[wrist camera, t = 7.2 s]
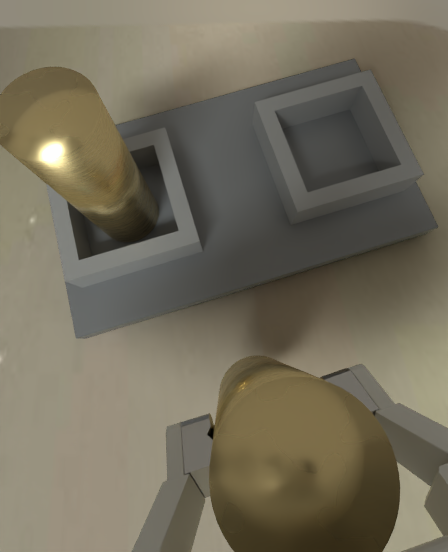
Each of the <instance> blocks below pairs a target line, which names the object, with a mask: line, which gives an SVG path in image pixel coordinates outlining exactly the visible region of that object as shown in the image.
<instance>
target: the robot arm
mask: <svg viewBox="0 0 448 552" xmlns="http://www.w3.org/2000/svg"><path fill="white" fill-rule="evenodd" d="M320 379H323V380H325V381H327V382H330V383H332V384H334V385H336V386H339V387H341V388H343V389H344V390H346V391H347V392H349V393H351V394H352V395H353V396H355V397H356V398H357V399H358V400H360V401H361V402H362V403H363V404H364V405H365V406H366V407H367V408H368V409H369V410H370V411H371V412H372V414H373V415H374V416H375V418H376V419H377V420H378V422H379V423H380V425H381V426H382V428H383V430H384V431H385V433H386V435H387V437H388V439H389V441H390V444H391V446H392V449H393V452H394V455H395V458H396V461H397V462H398V463H400V464H401V465H402V466H404V467H405V468H406V469H408V470H409V471H411V472H412V473H413V474H415V475H416V476H417V477H419V478H420V479H421V480H423V481H424V482H425V483H427V484H428V485H430V486H431V487H430V490H429V492H428V495H427V497H426V500H425V505H424V507H425V508H426V510H427V511H428V513H429V514H430V516H431V517H432V519H433V520H434V522H435V523H436V525H437V527H438V528H439V530H440V531H441V533H442V534H443V537H440V538H437V539H434V540H432V541H429V542H426V543H423V544H421V545H418V546H415V547H413V548H410V549H407V550H404V551H402V552H448V428H446V427H444V426H443V425H441V424H439V423H437V422H435V421H433V420H431V419H429V418H427V417H425V416H423V415H421V414H419V413H418V412H416V411H414V410H412V409H410V408H408V407H406V406H404V405H402V404H400V403H398V404H395V403H394V402H393V401H392V400H391V398H390V397H389V396H388V395H387V393H386V392H385V391H384V390H383V388H382V387H381V386H380V385H379V383H378V382H377V381H376V379H375V378H374V377H373V376H372V374H371V373H370V372H369V371H368V369H367V368H366V367H365V366H364V365H362V364H358V365H355V366H352V367H349V368H345V369H342V370H339V371H337V372H334V373H331V374H328V375H325V376H322V377H321V378H320ZM214 428H215V425H213V420H212V417H211V415H210V413H209V414H206V415H203V416H199V417H196V418H193V419H190V420H187V421H184V422H180V423H177V424H174V425H171V426H168V427H167V429H166V453H167V481H165V482H163V483H162V486H161V488H160V490H159V492H158V495H157V497H156V499H155V501H154V503H153V506H152V508H151V510H150V512H149V515H148V517H147V519H146V521H145V524H144V526H143V528H142V530H141V532H140V535H139V537H138V539H137V541H136V544H135V546H134V548H133V550H132V552H191V549H192V546H193V542H194V539H195V535H196V532H197V528H198V525H199V521H200V517H201V514H202V510H203V507H204V503H205V498H206V497H209V496H210V488H209V465H210V458H211V450H212V443H213V435H214Z"/></svg>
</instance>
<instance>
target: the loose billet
mask: <svg viewBox="0 0 448 552" xmlns="http://www.w3.org/2000/svg"><path fill="white" fill-rule="evenodd" d="M209 488H210V496H211V502H212V507H213V510H214V513H215V516H216V520H217V522H218V525H219V527H220V529H221V531H222V533H223V535H224V537H225V539H226V540H227V542H228V543H229V545H230V547H231V548H232V549H233V551H234V552H382V551H383V549H384V548H385V546H386V544H387V543H388V541H389V538H390V536H391V534H392V532H393V529H394V526H395V522H396V519H397V515H398V509H399V502H400V481H399V472H398V467H397V462H396V458H395V455H394V452H393V449H392V446H391V444H390V441H389V439H388V437H387V435H386V433H385V431H384V430H383V428H382V426H381V425H380V423H379V422H378V420H377V419H376V418H375V416H374V415H373V414H372V412H371V411H370V410H369V409H368V408H367V407H366V406H365V405H364V404H363V403H362V402H361V401H360V400H358V399H357V398H356V397H355V396H353V395H352V394H351V393H349V392H347V391H346V390H344V389H343V388H341V387H339V386H336V385H334V384H332V383H330V382H327V381H325V380H323V379H320V378H318V377H315V376H313V375H310V374H308V373H306V372H303V371H301V370H298V369H296V368H294V367H291V366H289V365H286V364H284V363H281V362H279V361H277V360H274V359H272V358H269V357H266V356H249V357H245V358H243V359H241V360H239V361H237V362H236V363H235V364H233V365H232V366H231V367H230V368H229V369H228V371H227V372H226V374H225V375H224V377H223V379H222V382H221V385H220V391H219V398H218V406H217V413H216V421H215V428H214V435H213V443H212V450H211V458H210V465H209Z"/></svg>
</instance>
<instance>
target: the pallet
mask: <svg viewBox="0 0 448 552" xmlns="http://www.w3.org/2000/svg"><path fill="white" fill-rule="evenodd" d="M115 126H116V128H117V130H118V131H119V133H120V135H121V137H122V139H123V141H124V143H125V144H126V146H127V148H128V150H129V152H130V154H131V155H132V157H133V159H134V161H135V163H136V165H137V167H138V168H139V170H140V172H141V174H142V176H143V178H144V179H145V181H146V183H147V185H148V187H149V189H150V191H151V192H152V194H153V196H154V198H155V200H156V202H157V204H158V208H159V217H158V221H157V224H156V225H155V227H154V229H153V230H152V231H151V232H150V233H149V234H148V235H147V236H146V237H144V238H142V239H140V240H138V241H134V242H120V241H116V240H114V239H112V238H111V237H109V236H108V235H107V234H106V233H104V232H103V231H102V230H101V229H100V228H99V227H97V226H96V225H95V224H94V223H93V222H91V221H90V220H89V219H88V218H87V217H85V216H84V215H83V214H82V213H81V212H80V211H78V210H77V209H76V208H75V207H74V206H72V205H71V204H70V203H69V202H68V201H66V200H65V199H64V198H63V197H62V196H61V195H59V194H58V193H57V192H56V191H55V190H53V189H52V188H51V187H50V186H49V185H47V184H46V185H47V190H48V195H49V201H50V206H51V211H52V216H53V221H54V227H55V232H56V237H57V242H58V248H59V253H60V258H61V263H62V268H63V274H64V279H65V283H66V289H67V294H68V299H69V304H70V309H71V315H72V320H73V325H74V330H75V336H76V338H89V337H92V336H95V335H98V334H102V333H105V332H108V331H111V330H115V329H118V328H121V327H124V326H128V325H131V324H134V323H137V322H141V321H144V320H147V319H150V318H154V317H157V316H160V315H163V314H167V313H170V312H173V311H176V310H180V309H183V308H186V307H189V306H193V305H196V304H199V303H202V302H206V301H209V300H212V299H215V298H219V297H222V296H225V295H228V294H232V293H235V292H238V291H241V290H245V289H248V288H251V287H254V286H258V285H261V284H264V283H267V282H271V281H274V280H277V279H280V278H284V277H287V276H290V275H293V274H297V273H300V272H303V271H306V270H310V269H313V268H316V267H319V266H323V265H326V264H329V263H332V262H336V261H339V260H342V259H345V258H349V257H352V256H355V255H358V254H362V253H365V252H368V251H371V250H375V249H378V248H381V247H384V246H388V245H391V244H394V243H397V242H401V241H404V240H407V239H410V238H414V237H417V236H420V235H423V234H426V233H428V232H430V231H432V230H434V229H436V228H438V225H437V223H436V221H435V219H434V217H433V215H432V213H431V211H430V209H429V207H428V205H427V203H426V201H425V199H424V197H423V195H422V193H421V191H420V189H419V187H418V185H417V183H416V181H417V180H418V179H419V178H420V177H421V176H422V175H424V174H423V172H422V170H421V168H420V166H419V164H418V162H417V160H416V158H415V156H414V154H413V152H412V150H411V148H410V146H409V144H408V142H407V140H406V138H405V136H404V134H403V132H402V130H401V128H400V126H399V124H398V122H397V120H396V119H395V117H394V115H393V113H392V111H391V109H390V107H389V105H388V103H387V101H386V99H385V97H384V95H383V93H382V91H381V89H380V87H379V85H378V83H377V81H376V79H375V77H374V75H373V73H372V71H371V70H367V71H363V72H361V70H360V68H359V66H358V64H357V62H356V60H355V59H351V60H348V61H344V62H341V63H337V64H334V65H330V66H326V67H323V68H319V69H316V70H312V71H308V72H305V73H301V74H298V75H294V76H291V77H287V78H283V79H280V80H276V81H273V82H269V83H266V84H262V85H258V86H255V87H251V88H248V89H244V90H240V91H237V92H233V93H230V94H226V95H223V96H219V97H215V98H212V99H208V100H205V101H201V102H198V103H194V104H190V105H187V106H183V107H180V108H176V109H172V110H169V111H165V112H162V113H158V114H155V115H151V116H147V117H144V118H140V119H137V120H133V121H130V122H126V123H122V124H119V125H115Z"/></svg>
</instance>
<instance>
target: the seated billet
mask: <svg viewBox="0 0 448 552" xmlns="http://www.w3.org/2000/svg"><path fill="white" fill-rule="evenodd" d="M0 144H1V145H2V146H3V147H4V148H5V149H6V150H7V151H8V152H9V153H11V154H12V155H13V156H14V157H15V158H17V159H18V160H19V161H20V162H21V163H23V164H24V165H25V166H26V167H27V168H28V169H30V170H31V171H32V172H33V173H34V174H36V175H37V176H38V177H39V178H40V179H42V180H43V181H44V182H45V183H46V184H47V185H49V186H50V187H51V188H52V189H53V190H55V191H56V192H57V193H58V194H59V195H61V196H62V197H63V198H64V199H65V200H66V201H68V202H69V203H70V204H71V205H72V206H74V207H75V208H76V209H77V210H78V211H80V212H81V213H82V214H83V215H84V216H85V217H87V218H88V219H89V220H90V221H91V222H93V223H94V224H95V225H96V226H97V227H99V228H100V229H101V230H102V231H103V232H104V233H106V234H107V235H108V236H109V237H111V238H112V239H114V240H116V241H120V242H134V241H138V240H140V239H142V238H144V237H146V236H147V235H148V234H149V233H150V232H151V231H152V230H153V229H154V227H155V225H156V224H157V221H158V217H159V208H158V204H157V202H156V200H155V198H154V196H153V194H152V192H151V191H150V189H149V187H148V185H147V183H146V181H145V179H144V178H143V176H142V174H141V172H140V170H139V168H138V167H137V165H136V163H135V161H134V159H133V157H132V155H131V154H130V152H129V150H128V148H127V146H126V144H125V143H124V141H123V139H122V137H121V135H120V133H119V131H118V130H117V128H116V126H115V124H114V122H113V120H112V118H111V117H110V115H109V113H108V111H107V109H106V107H105V106H104V104H103V102H102V100H101V98H100V96H99V94H98V93H97V91H96V89H95V87H94V86H93V84H92V83H91V82H90V81H89V80H88V79H87V78H86V77H85V76H83V75H82V74H80V73H78V72H76V71H74V70H71V69H68V68H62V67H45V68H40V69H36V70H33V71H30V72H28V73H26V74H23V75H22V76H20V77H18V78H17V79H15V80H14V81H13V82H12V83H10V84H9V85H8V86H7V87H6V88H5V89H4V91H3V92H2V93H1V95H0Z"/></svg>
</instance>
